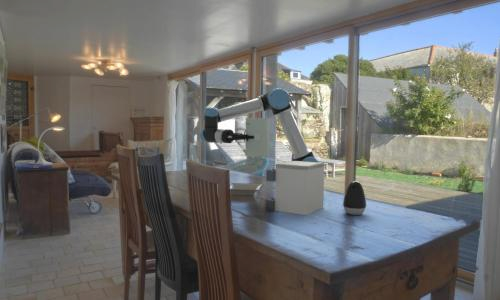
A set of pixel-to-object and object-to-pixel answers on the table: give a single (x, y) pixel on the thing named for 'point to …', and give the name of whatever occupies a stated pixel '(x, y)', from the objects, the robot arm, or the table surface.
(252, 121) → the sage door
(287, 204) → the cabinet
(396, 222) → the table surface
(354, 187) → the black egg-shaped speaker
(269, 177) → the clip hinges
